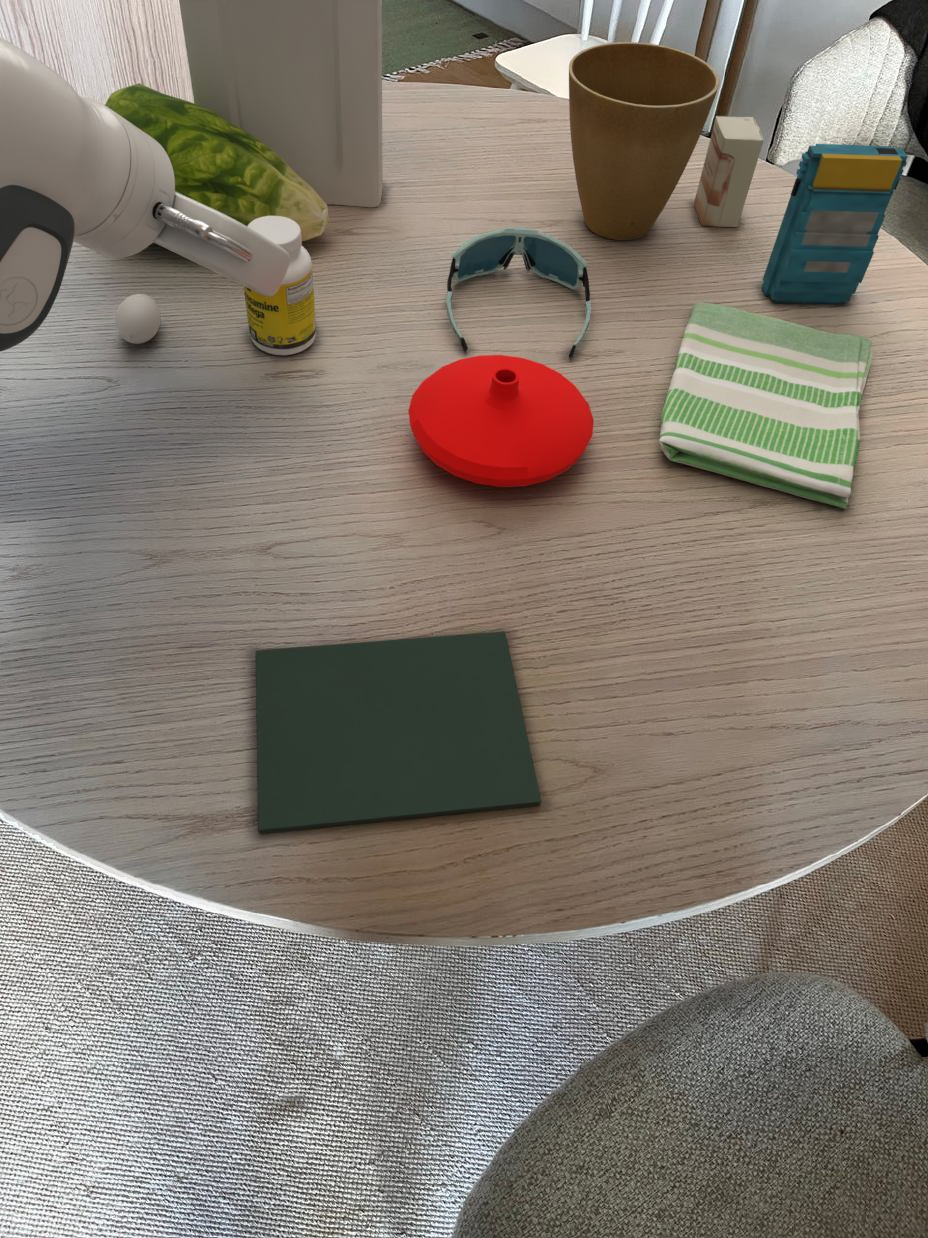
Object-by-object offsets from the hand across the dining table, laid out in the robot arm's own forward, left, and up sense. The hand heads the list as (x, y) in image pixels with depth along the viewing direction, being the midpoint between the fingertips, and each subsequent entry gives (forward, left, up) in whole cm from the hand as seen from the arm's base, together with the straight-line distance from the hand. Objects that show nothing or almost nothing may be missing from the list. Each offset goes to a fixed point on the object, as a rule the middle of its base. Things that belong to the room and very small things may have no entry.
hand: (225, 253), depth 81 cm
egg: (-9, +5, -12) cm, 16 cm away
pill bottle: (+4, +4, -12) cm, 13 cm away
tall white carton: (+7, +36, -12) cm, 39 cm away
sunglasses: (+27, +7, -12) cm, 30 cm away
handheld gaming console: (+58, +8, -12) cm, 60 cm away
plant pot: (+41, +23, -12) cm, 49 cm away
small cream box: (+53, +24, -12) cm, 59 cm away
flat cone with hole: (+22, -12, -12) cm, 27 cm away
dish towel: (+47, -9, -12) cm, 50 cm away
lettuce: (-2, +22, -12) cm, 25 cm away
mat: (+10, -40, -11) cm, 42 cm away
